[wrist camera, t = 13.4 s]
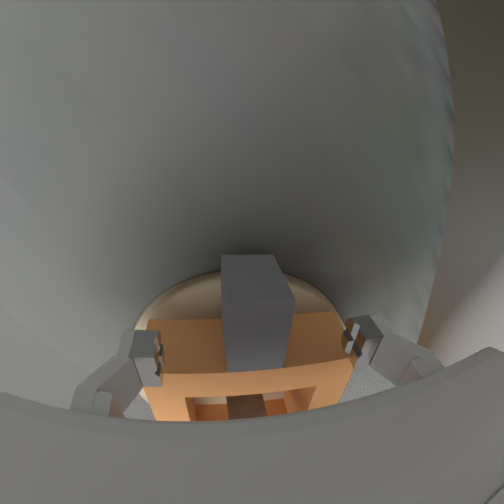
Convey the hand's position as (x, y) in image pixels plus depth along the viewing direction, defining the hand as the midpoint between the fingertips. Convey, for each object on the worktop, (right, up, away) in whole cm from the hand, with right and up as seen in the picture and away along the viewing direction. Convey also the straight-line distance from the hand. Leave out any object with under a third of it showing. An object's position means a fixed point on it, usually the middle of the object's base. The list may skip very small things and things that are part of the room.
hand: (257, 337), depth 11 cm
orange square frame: (-1, -3, +6) cm, 7 cm away
